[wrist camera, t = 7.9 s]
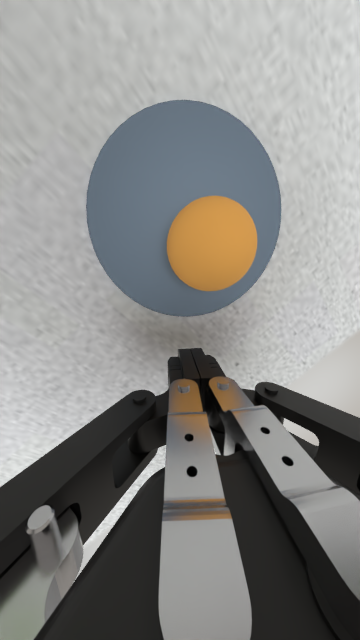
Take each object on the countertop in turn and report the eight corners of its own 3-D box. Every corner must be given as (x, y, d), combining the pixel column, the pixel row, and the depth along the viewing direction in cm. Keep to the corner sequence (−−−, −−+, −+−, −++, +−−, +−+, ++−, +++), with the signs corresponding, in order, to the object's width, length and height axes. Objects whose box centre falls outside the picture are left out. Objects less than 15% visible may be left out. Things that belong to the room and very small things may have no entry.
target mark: (100, 318, 16) (99, 319, 16) (72, 96, 12) (71, 94, 12) (269, 312, 17) (270, 313, 17) (291, 108, 13) (293, 105, 13)
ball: (183, 158, 9) (174, 205, 14) (157, 278, 10) (158, 280, 15) (291, 194, 10) (244, 227, 15) (259, 303, 11) (225, 297, 16)
